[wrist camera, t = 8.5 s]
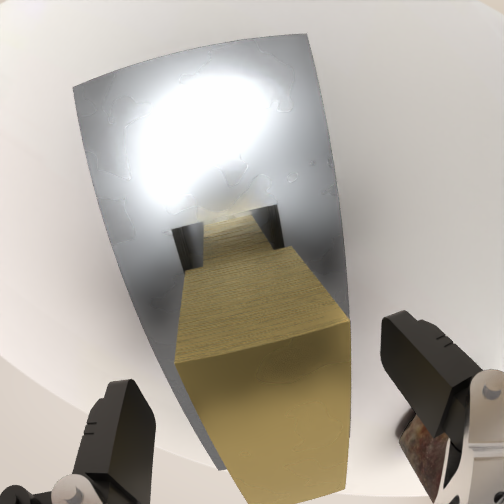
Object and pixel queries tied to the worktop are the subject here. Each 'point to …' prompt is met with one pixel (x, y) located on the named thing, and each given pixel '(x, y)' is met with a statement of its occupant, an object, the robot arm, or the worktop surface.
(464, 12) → the worktop surface
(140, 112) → the grey slotted base
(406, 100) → the worktop surface
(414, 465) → the brown cylinder
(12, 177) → the worktop surface
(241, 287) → the yellow block
